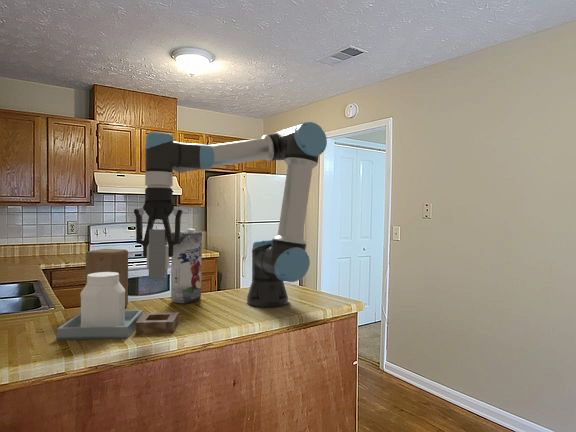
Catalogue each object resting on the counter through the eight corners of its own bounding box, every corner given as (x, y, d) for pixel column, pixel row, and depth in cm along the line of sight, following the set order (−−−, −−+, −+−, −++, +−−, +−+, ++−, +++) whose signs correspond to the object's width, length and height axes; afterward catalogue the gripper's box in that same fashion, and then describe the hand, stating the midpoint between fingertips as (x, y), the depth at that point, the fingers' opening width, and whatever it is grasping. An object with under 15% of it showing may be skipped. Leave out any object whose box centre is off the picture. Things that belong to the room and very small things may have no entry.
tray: (142, 319, 124) (142, 309, 123) (127, 338, 106) (127, 326, 106) (82, 320, 121) (82, 311, 121) (56, 340, 104) (56, 328, 104)
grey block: (167, 276, 118) (167, 228, 117) (164, 278, 113) (165, 229, 113) (151, 276, 117) (152, 228, 117) (148, 278, 113) (149, 229, 112)
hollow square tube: (178, 322, 121) (178, 312, 121) (173, 332, 111) (173, 321, 111) (144, 323, 120) (144, 313, 120) (135, 333, 110) (135, 322, 110)
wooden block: (111, 313, 130) (111, 252, 129) (84, 311, 132) (84, 251, 131) (129, 306, 140) (129, 249, 139) (103, 304, 142) (104, 248, 141)
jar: (120, 319, 121) (120, 270, 121) (128, 327, 113) (129, 274, 113) (77, 325, 114) (77, 273, 114) (83, 334, 106) (84, 278, 106)
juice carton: (167, 302, 146) (167, 228, 145) (185, 296, 155) (185, 227, 155) (187, 305, 142) (188, 229, 142) (204, 299, 152) (205, 228, 151)
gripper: (191, 188, 120) (190, 266, 120) (130, 187, 117) (130, 266, 118) (188, 187, 112) (187, 270, 113) (123, 186, 110) (123, 270, 110)
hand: (158, 268), depth 115 cm, fingers closed on grey block, 4 cm apart
